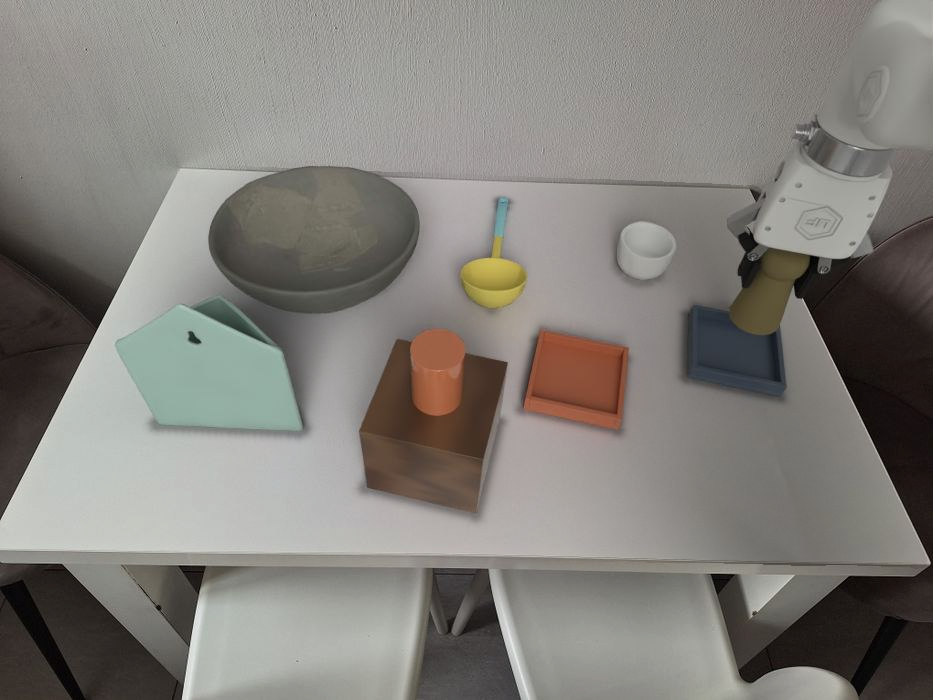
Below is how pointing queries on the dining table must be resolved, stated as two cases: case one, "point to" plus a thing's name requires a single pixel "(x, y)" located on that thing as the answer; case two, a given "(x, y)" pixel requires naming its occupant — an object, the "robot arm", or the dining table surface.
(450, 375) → the terracotta jar
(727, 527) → the dining table surface
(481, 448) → the block
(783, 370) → the slate tray
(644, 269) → the teacup
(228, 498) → the dining table surface
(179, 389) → the planter
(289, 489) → the dining table surface
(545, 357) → the terracotta tray
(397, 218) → the bowl
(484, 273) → the ladle
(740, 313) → the pepper shaker
